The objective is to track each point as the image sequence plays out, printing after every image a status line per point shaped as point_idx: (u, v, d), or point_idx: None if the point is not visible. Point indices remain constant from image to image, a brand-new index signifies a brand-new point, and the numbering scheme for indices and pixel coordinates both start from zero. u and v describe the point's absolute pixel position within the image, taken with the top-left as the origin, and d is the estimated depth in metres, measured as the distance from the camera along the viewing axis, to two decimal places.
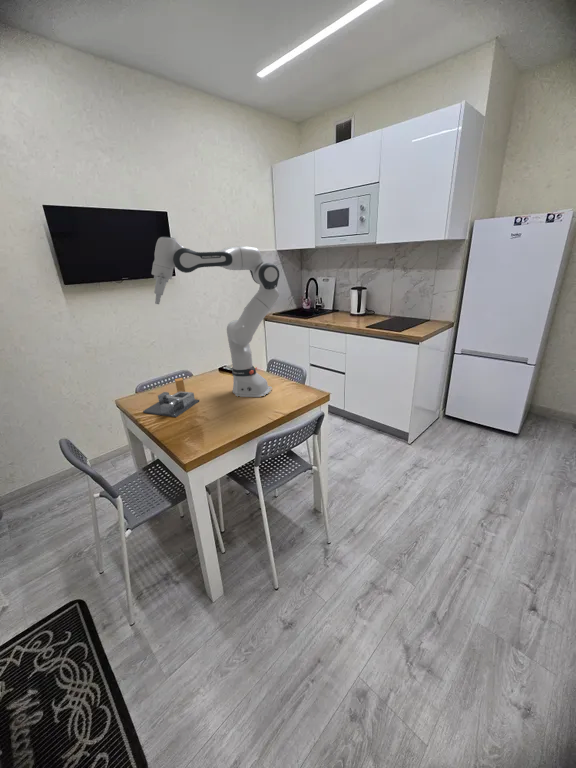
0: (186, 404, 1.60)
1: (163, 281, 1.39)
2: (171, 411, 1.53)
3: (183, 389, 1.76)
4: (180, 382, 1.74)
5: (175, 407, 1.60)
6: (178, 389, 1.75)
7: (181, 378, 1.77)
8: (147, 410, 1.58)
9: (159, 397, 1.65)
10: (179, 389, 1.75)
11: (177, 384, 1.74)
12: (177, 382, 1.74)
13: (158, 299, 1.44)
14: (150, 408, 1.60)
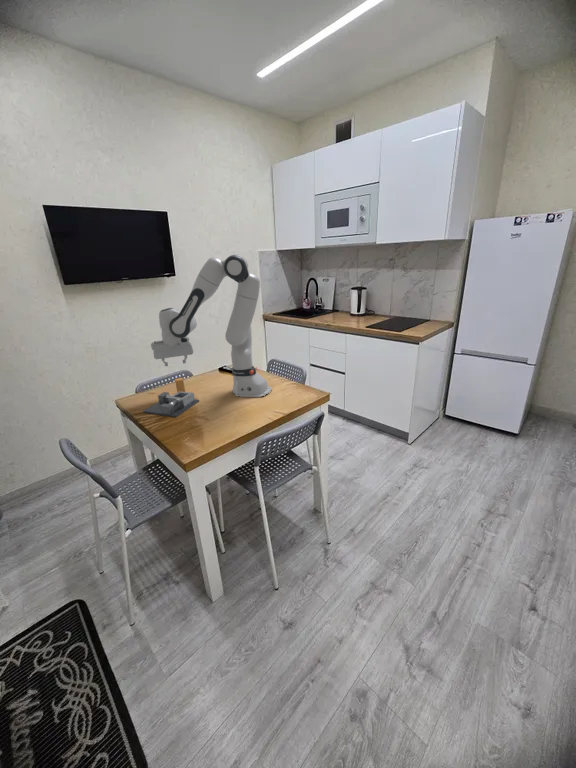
0: (186, 404, 1.60)
1: (153, 348, 1.64)
2: (171, 411, 1.53)
3: (183, 389, 1.76)
4: (180, 382, 1.74)
5: (175, 407, 1.60)
6: (178, 389, 1.75)
7: (181, 378, 1.77)
8: (147, 410, 1.58)
9: (159, 397, 1.65)
10: (179, 389, 1.75)
11: (177, 384, 1.74)
12: (177, 382, 1.74)
13: None
14: (150, 408, 1.60)
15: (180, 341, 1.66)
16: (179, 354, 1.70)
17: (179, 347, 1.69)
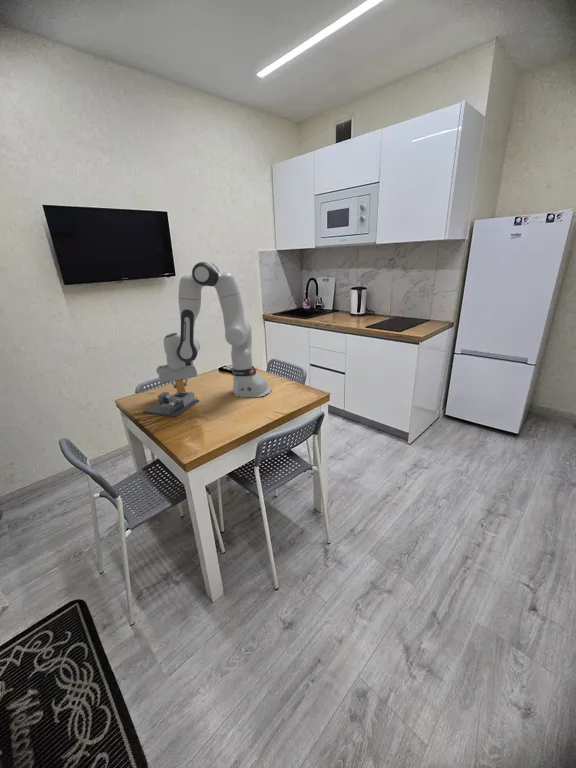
0: (186, 404, 1.60)
1: (159, 372, 1.69)
2: (171, 411, 1.53)
3: (183, 389, 1.76)
4: (180, 382, 1.74)
5: (175, 407, 1.60)
6: (178, 389, 1.75)
7: None
8: (147, 410, 1.58)
9: (159, 397, 1.65)
10: (179, 389, 1.75)
11: (177, 384, 1.74)
12: (177, 382, 1.74)
13: (172, 384, 1.75)
14: (150, 408, 1.60)
15: (184, 365, 1.71)
16: (183, 377, 1.74)
17: (183, 370, 1.74)
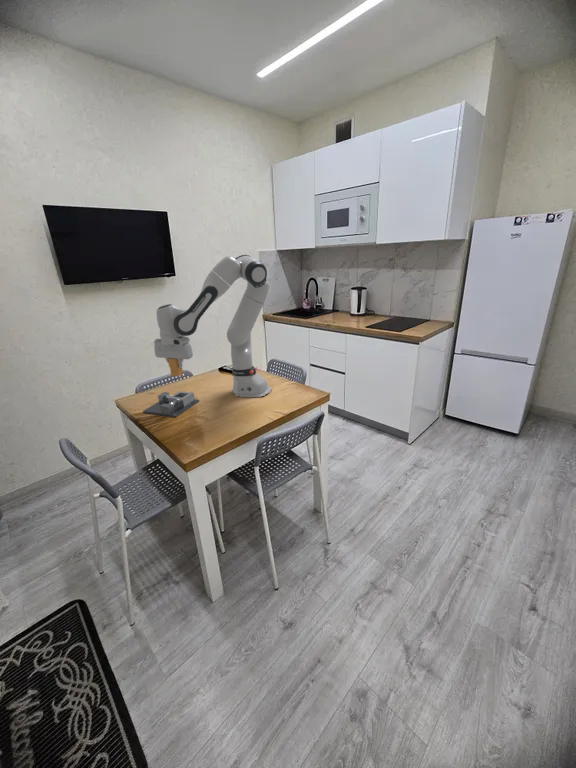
0: (186, 404, 1.60)
1: None
2: (171, 411, 1.53)
3: (175, 370, 1.56)
4: (172, 361, 1.54)
5: (175, 407, 1.60)
6: (171, 368, 1.56)
7: None
8: (147, 410, 1.58)
9: (159, 397, 1.65)
10: (172, 368, 1.56)
11: (170, 362, 1.55)
12: (169, 360, 1.55)
13: None
14: (150, 408, 1.60)
15: (173, 343, 1.48)
16: (175, 356, 1.53)
17: (175, 349, 1.51)
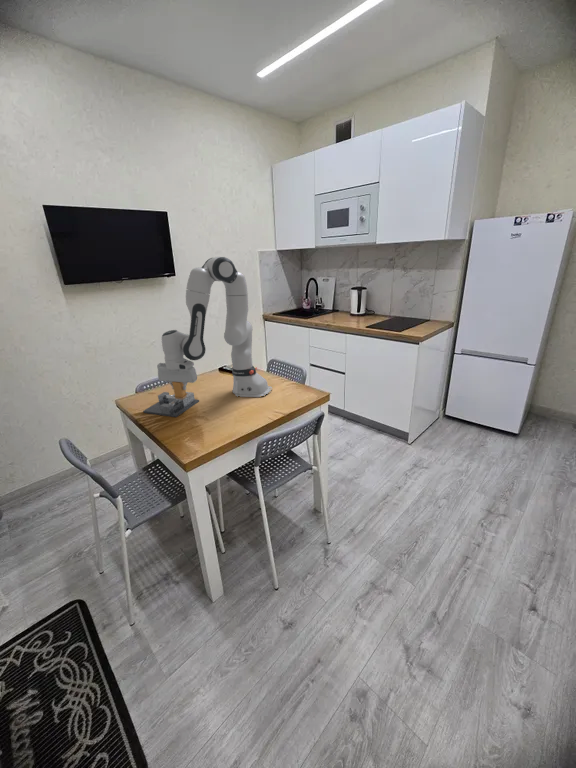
0: (186, 404, 1.60)
1: None
2: (171, 411, 1.53)
3: (180, 392, 1.60)
4: (177, 384, 1.58)
5: (175, 407, 1.60)
6: (175, 391, 1.60)
7: None
8: (147, 410, 1.58)
9: (159, 397, 1.65)
10: (176, 391, 1.60)
11: (174, 386, 1.59)
12: (174, 384, 1.59)
13: None
14: (150, 408, 1.60)
15: (178, 367, 1.53)
16: (180, 380, 1.57)
17: (180, 373, 1.56)
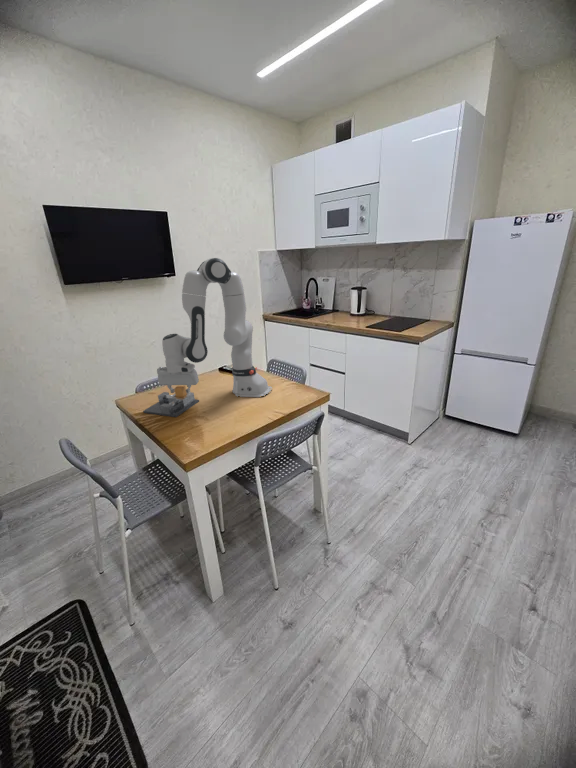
0: (186, 404, 1.60)
1: None
2: (171, 411, 1.53)
3: None
4: (179, 390, 1.60)
5: (175, 407, 1.60)
6: None
7: (183, 386, 1.62)
8: (147, 410, 1.58)
9: (159, 397, 1.65)
10: None
11: (176, 392, 1.60)
12: (176, 390, 1.60)
13: None
14: (150, 408, 1.60)
15: (180, 370, 1.54)
16: (182, 383, 1.58)
17: (182, 376, 1.57)
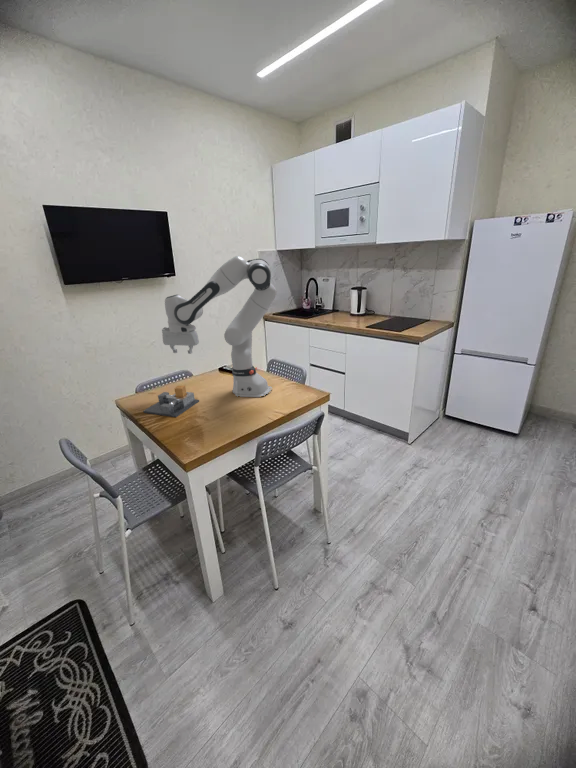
0: (186, 404, 1.60)
1: None
2: (171, 411, 1.53)
3: None
4: (179, 390, 1.60)
5: (175, 407, 1.60)
6: None
7: (183, 386, 1.62)
8: (147, 410, 1.58)
9: (159, 397, 1.65)
10: None
11: (176, 392, 1.60)
12: (176, 390, 1.60)
13: None
14: (150, 408, 1.60)
15: (180, 330, 1.60)
16: (183, 343, 1.64)
17: (183, 336, 1.63)
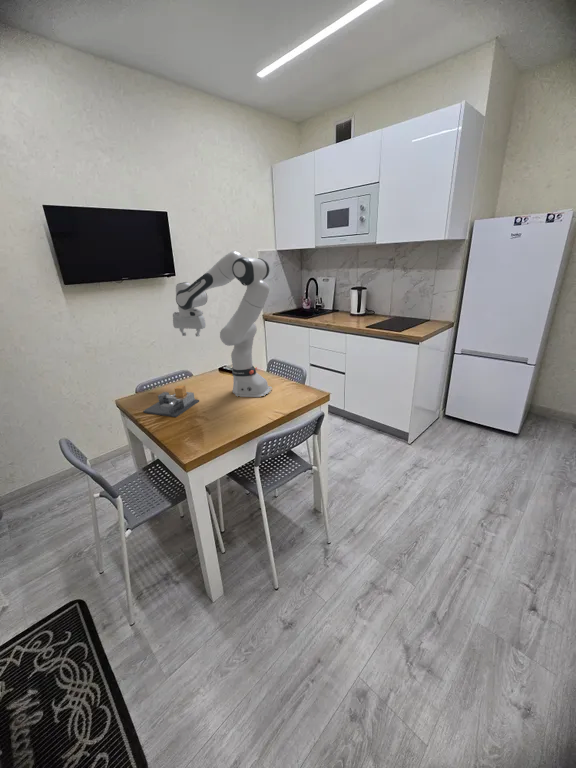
0: (186, 404, 1.60)
1: None
2: (171, 411, 1.53)
3: None
4: (179, 390, 1.60)
5: (175, 407, 1.60)
6: None
7: (183, 386, 1.62)
8: (147, 410, 1.58)
9: (159, 397, 1.65)
10: None
11: (176, 392, 1.60)
12: (176, 390, 1.60)
13: None
14: (150, 408, 1.60)
15: (189, 314, 1.76)
16: (191, 327, 1.81)
17: (191, 320, 1.79)
